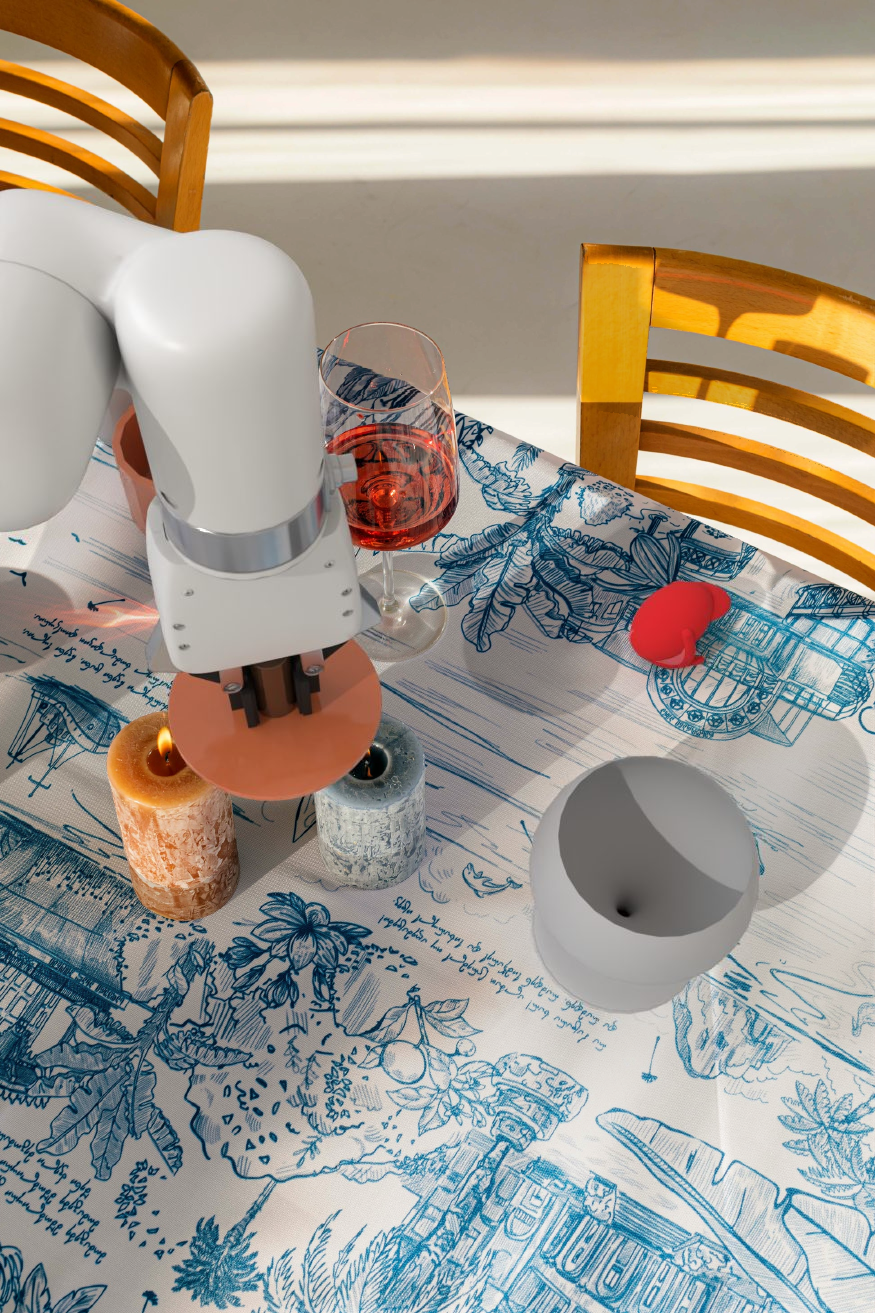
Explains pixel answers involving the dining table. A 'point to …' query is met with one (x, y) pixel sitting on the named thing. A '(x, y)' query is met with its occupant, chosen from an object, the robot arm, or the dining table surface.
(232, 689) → the robot arm
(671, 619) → the cap
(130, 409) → the pot
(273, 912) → the dining table surface
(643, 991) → the chalice
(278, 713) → the lid
